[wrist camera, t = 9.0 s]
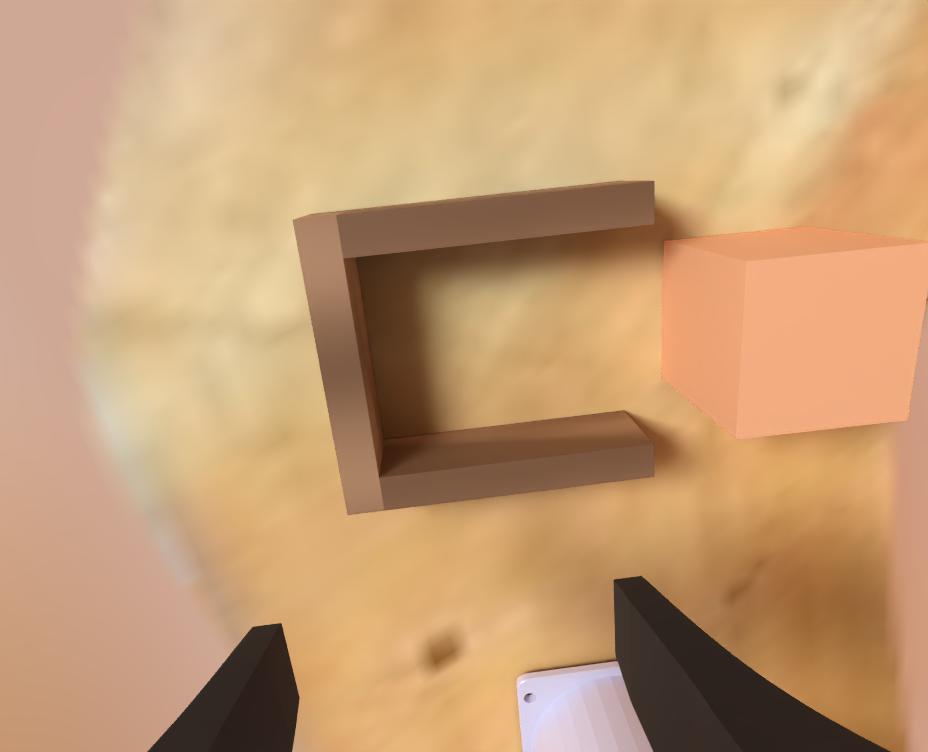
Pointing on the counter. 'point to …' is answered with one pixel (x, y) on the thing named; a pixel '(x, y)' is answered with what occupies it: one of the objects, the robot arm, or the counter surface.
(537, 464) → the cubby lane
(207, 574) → the counter surface
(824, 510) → the counter surface
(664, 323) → the tethered block
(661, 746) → the robot arm
